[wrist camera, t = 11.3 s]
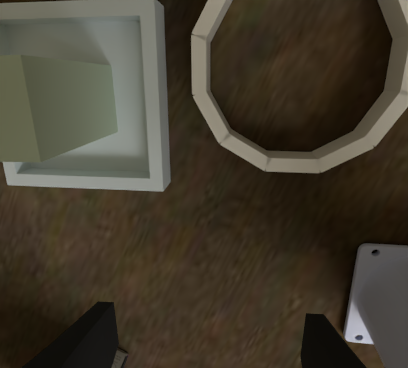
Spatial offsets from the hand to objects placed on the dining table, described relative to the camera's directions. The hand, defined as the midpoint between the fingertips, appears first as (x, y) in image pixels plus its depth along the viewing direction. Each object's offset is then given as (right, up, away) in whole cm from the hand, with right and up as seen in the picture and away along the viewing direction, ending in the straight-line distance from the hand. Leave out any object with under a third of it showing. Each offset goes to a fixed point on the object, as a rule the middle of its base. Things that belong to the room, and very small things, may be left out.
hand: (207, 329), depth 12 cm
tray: (-8, +11, +8) cm, 16 cm away
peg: (-8, +11, +8) cm, 15 cm away
